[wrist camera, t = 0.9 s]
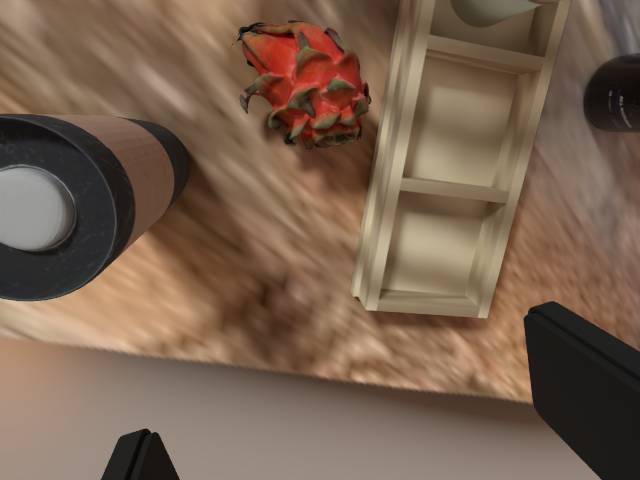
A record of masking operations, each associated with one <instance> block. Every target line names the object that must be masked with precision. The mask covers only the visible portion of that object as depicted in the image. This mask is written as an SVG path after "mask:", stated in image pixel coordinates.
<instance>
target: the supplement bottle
mask: <svg viewBox="0 0 640 480" xmlns="http://www.w3.org/2000/svg"><path fill="white" fill-rule="evenodd" d="M584 103H585V110H586V114H587V116H588V118H589V120H590V121H591V122H592V123H593V124H594V125H595V126H596V127H597V128H599V129H601V130H604V131H610V132H628V133H640V53H636V54H630V55H625V56H620V57H616V58H613V59H611V60H609V61H608V62H606V63H605V64H603V65H602V66H601V67H600V68H599V69H598V70H597V71H596V72H595V73H594V75H593V76H592V78H591V80H590V81H589V84H588V86H587V89H586V93H585V102H584Z"/></svg>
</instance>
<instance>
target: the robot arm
mask: <svg viewBox="0 0 640 480" xmlns="http://www.w3.org/2000/svg"><path fill="white" fill-rule="evenodd" d="M524 328H525V336H526V345H527V354H528V363H529V372H530V381H531V389H532V398H533V404H534V407H535V409H536V411H537V412H538V414H539V415H540V416H541V418H542V419H543V420H544V421H545V422H546V423H547V424H548V425H549V426H550V427H551V428H552V429H553V430H554V431H555V432H556V433H557V434H558V435H559V436H560V437H561V438H562V439H563V440H564V441H565V442H566V443H567V444H568V445H569V447H570V448H571V449H572V450H573V451H574V452H575V453H576V454H577V455H578V456H579V457H580V458H581V459H582V460H583V461H584V462H585V463H586V464H587V465H588V466H589V467H590V468H591V469H592V470H593V471H594V472H595V473H596V474H597V475H598V476H599V477H600V479H602V480H640V352H639V351H638V350H636V349H634V348H632V347H631V346H629V345H627V344H626V343H624V342H622V341H621V340H619V339H617V338H616V337H614V336H612V335H611V334H609V333H607V332H606V331H604V330H602V329H600V328H599V327H597V326H595V325H594V324H592V323H590V322H589V321H587V320H585V319H584V318H582V317H580V316H579V315H577V314H575V313H574V312H572V311H570V310H568V309H567V308H565V307H563V306H562V305H560V304H558V303H556V302H554V301H551V302H547V303H544V304H541V305H538V306H535V307H531V308H530V309H529V311H528V315H526V316H525V317H524ZM101 480H180V479H179V477H178V475H177V473H176V471H175V468H174V466H173V464H172V462H171V460H170V457H169V455H168V453H167V451H166V449H165V447H164V444H163V442H162V440H161V438H160V436H159V434H158V433H156V432H154V433H151V432H150V431H149V430H148V429H142V430H139V431H136V432H133V433H129V434H126V435H123V436H121V437H120V438H119V440H118V442H117V444H116V446H115V449H114V451H113V453H112V456H111V458H110V460H109V462H108V465H107V467H106V469H105V472H104V474H103V476H102V479H101Z"/></svg>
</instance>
